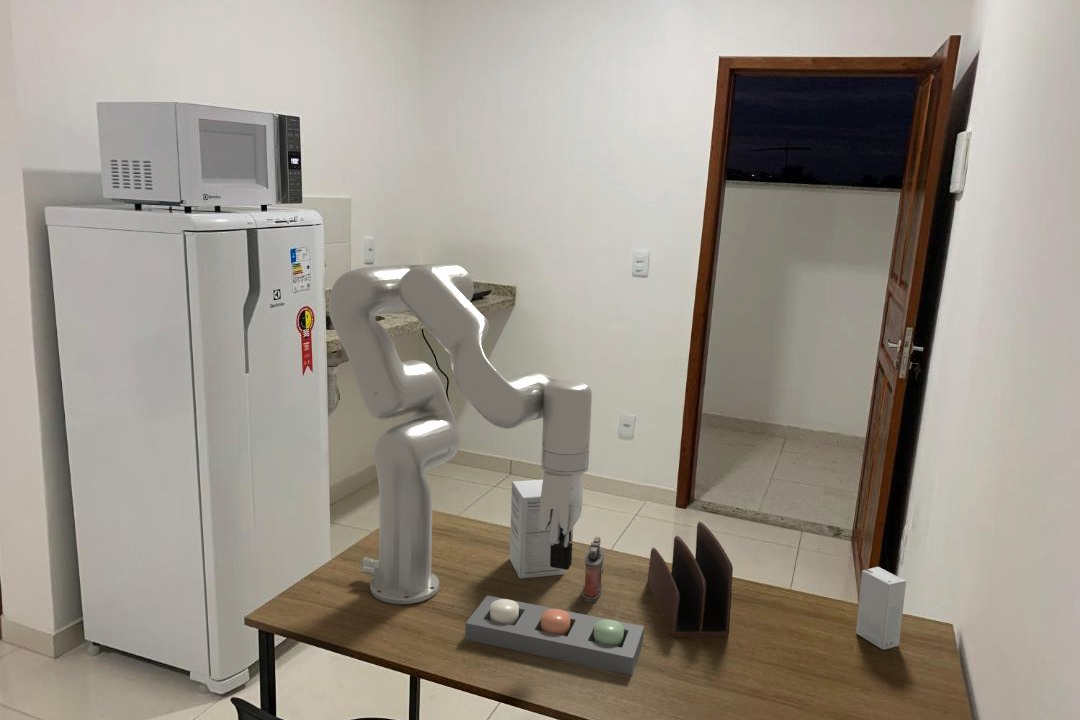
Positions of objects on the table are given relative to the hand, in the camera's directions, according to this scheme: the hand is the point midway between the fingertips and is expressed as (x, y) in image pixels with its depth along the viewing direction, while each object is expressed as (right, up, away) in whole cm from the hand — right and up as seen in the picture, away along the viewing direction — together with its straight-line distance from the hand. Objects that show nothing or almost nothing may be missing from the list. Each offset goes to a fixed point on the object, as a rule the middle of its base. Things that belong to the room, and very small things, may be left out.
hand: (560, 566), depth 129 cm
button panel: (-1, -13, +3) cm, 14 cm away
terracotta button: (-1, -12, +3) cm, 12 cm away
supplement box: (-4, -8, +29) cm, 31 cm away
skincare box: (+55, -15, +8) cm, 57 cm away
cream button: (-9, -11, +5) cm, 15 cm away
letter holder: (+23, -12, +16) cm, 31 cm away
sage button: (+8, -13, 0) cm, 15 cm away
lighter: (+6, -10, +20) cm, 24 cm away
